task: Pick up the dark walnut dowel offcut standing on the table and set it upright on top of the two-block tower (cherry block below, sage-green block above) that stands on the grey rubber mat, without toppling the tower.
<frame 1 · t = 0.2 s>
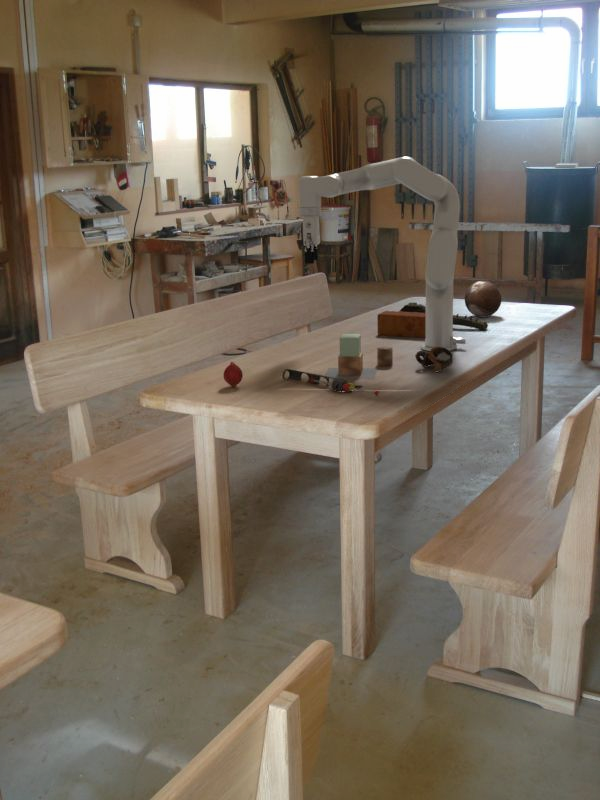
hand: (311, 261, 332), 31 cm above the table, tool pointing down, fingers open, 9 cm apart
tower base: (350, 372, 299), resting on mat, touching tower mid
mat: (350, 374, 299), on the table
brick: (405, 335, 359), on the table
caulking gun: (334, 389, 284), on the table
wooden club: (437, 329, 370), on the table
wooden sphere: (482, 317, 390), on the table
dowel: (384, 366, 309), on the table
tower mid: (350, 354, 297), point 6 cm above the table, touching tower base
onion: (233, 387, 287), on the table
pottery mug: (434, 370, 303), on the table
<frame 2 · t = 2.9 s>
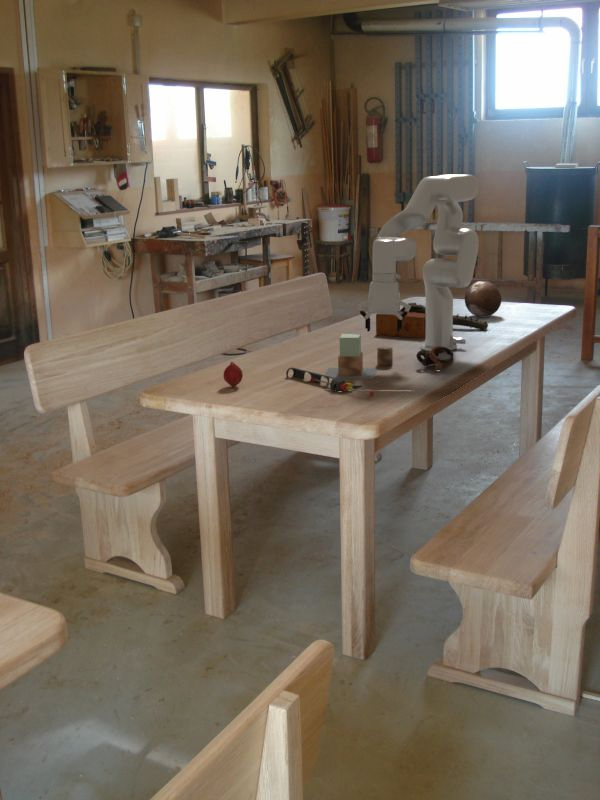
hand: (383, 331, 305), 12 cm above the table, tool pointing down, fingers open, 9 cm apart
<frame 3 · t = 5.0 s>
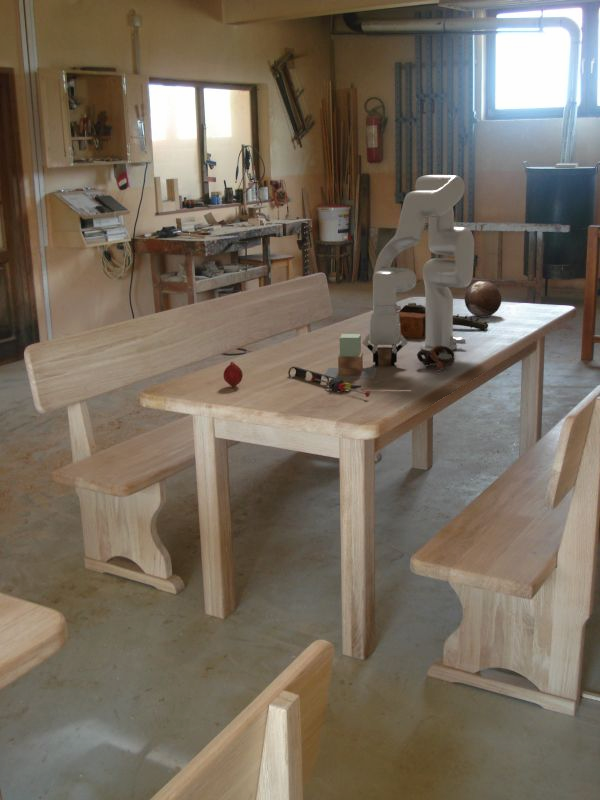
hand: (384, 363, 309), 1 cm above the table, tool pointing down, fingers closed on dowel, 5 cm apart
dowel: (384, 366, 309), on the table, touching gripper
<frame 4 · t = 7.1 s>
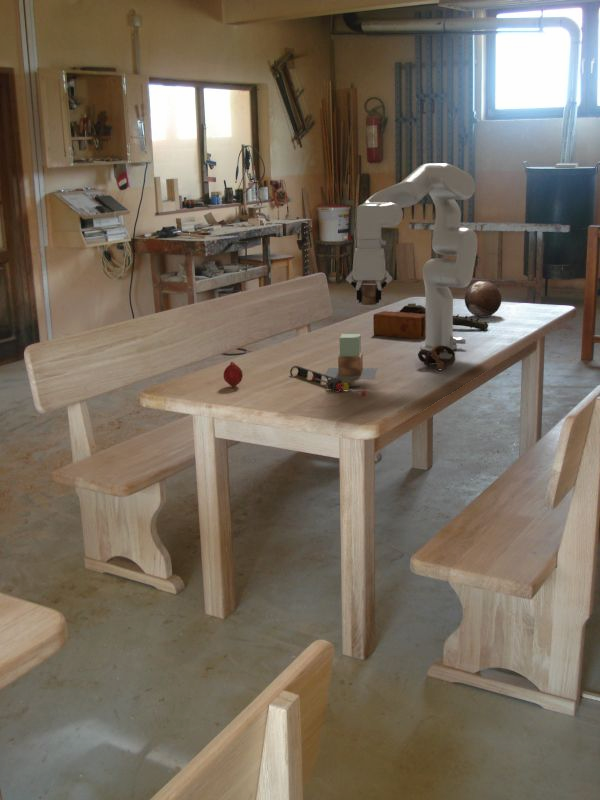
hand: (368, 301, 299), 22 cm above the table, tool pointing down, fingers closed on dowel, 5 cm apart
dowel: (369, 303, 299), point 21 cm above the table, touching gripper
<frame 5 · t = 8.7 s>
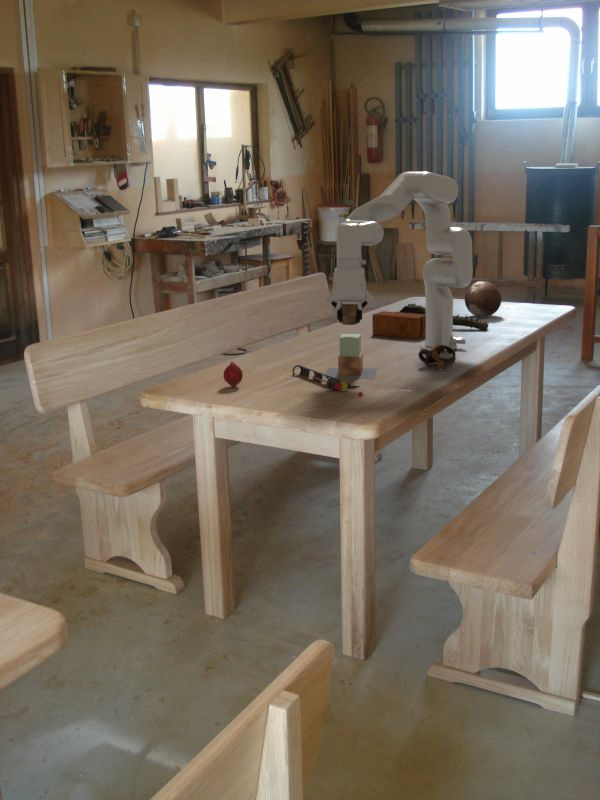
hand: (349, 321, 295), 17 cm above the table, tool pointing down, fingers closed on dowel, 5 cm apart
dowel: (349, 323, 295), point 16 cm above the table, touching gripper
when the fingers open (14 cm above the table, at t = 10.1 s): dowel drops 1 cm, resting on tower mid.
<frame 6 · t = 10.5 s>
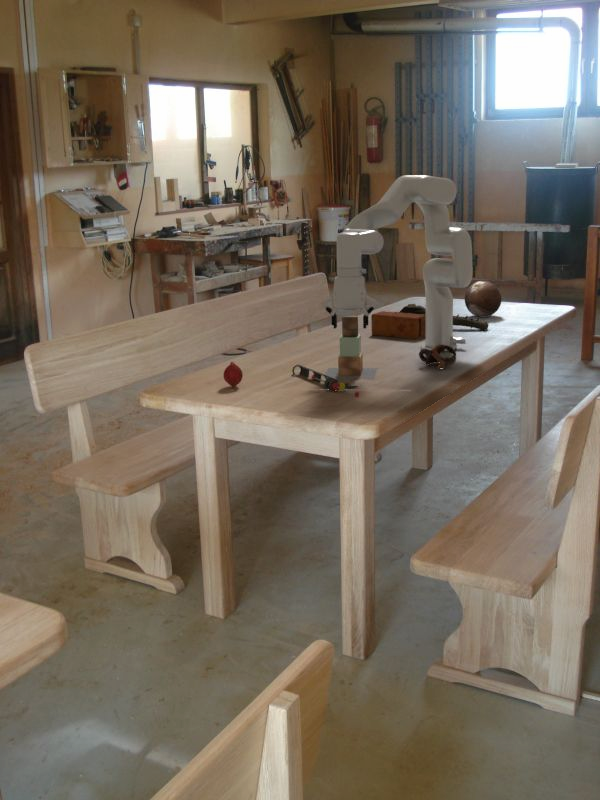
hand: (350, 327, 295), 15 cm above the table, tool pointing down, fingers open, 9 cm apart
dowel: (350, 335, 296), point 12 cm above the table, touching tower mid
tower mid: (350, 354, 297), point 6 cm above the table, touching dowel, tower base
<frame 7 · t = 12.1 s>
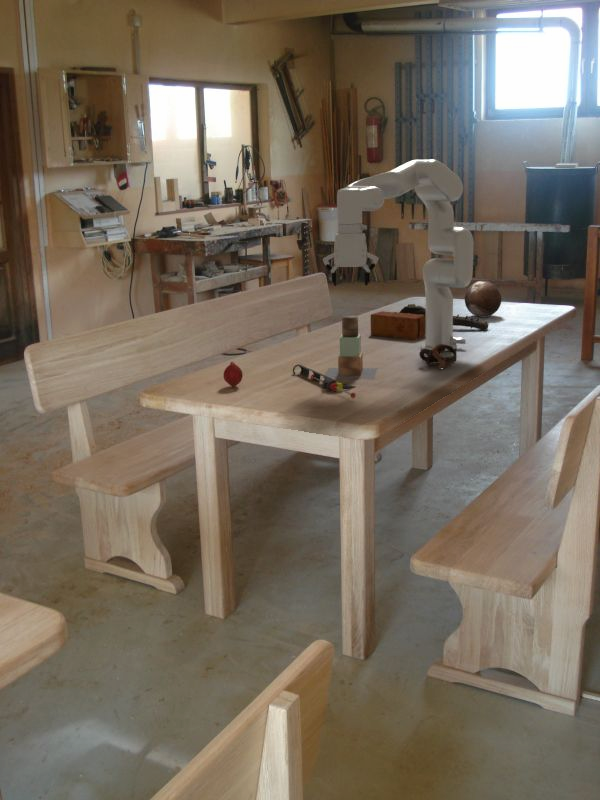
hand: (351, 285, 293), 28 cm above the table, tool pointing down, fingers open, 9 cm apart
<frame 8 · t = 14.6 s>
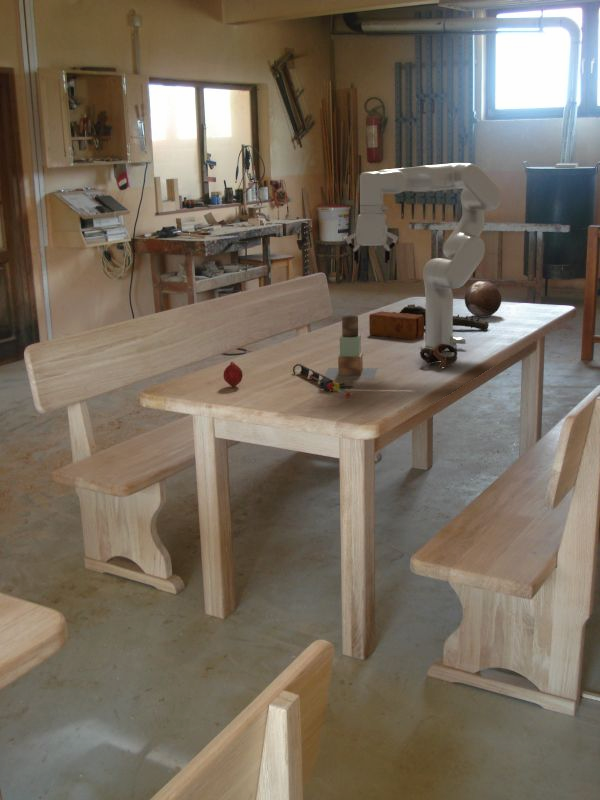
hand: (372, 262, 313), 32 cm above the table, tool pointing down, fingers open, 9 cm apart
at the end: dowel 0.0 cm off-centre on the tower mid, point 6.0 cm above the tower mid's base; tower mid tilted 0°; dowel tilted 0° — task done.
